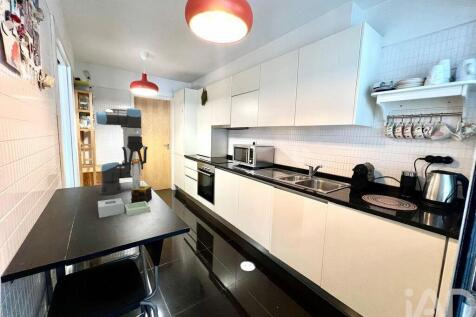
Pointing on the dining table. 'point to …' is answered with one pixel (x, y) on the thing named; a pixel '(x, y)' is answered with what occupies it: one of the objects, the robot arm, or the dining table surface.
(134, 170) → the pin
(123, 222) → the dining table surface
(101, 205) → the block
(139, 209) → the tray
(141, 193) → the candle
